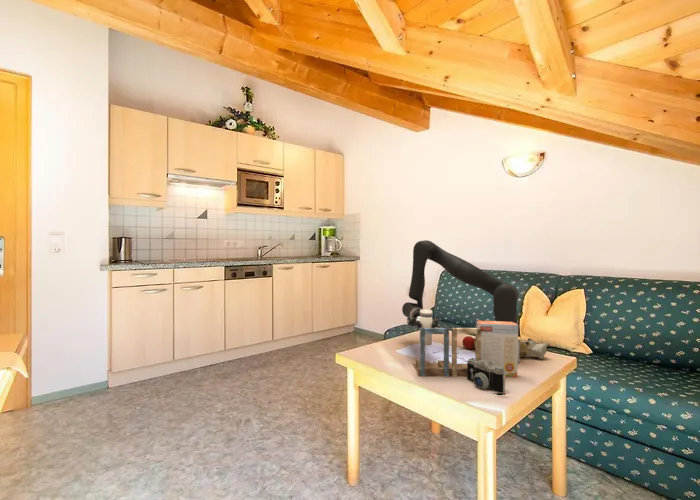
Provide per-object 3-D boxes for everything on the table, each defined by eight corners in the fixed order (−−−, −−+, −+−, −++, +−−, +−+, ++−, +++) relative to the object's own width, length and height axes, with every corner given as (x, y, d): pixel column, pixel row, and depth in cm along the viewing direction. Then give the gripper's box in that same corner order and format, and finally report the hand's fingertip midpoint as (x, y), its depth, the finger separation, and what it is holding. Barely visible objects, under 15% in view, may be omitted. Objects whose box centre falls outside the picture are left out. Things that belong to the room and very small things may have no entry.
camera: (459, 383, 125) (459, 355, 125) (471, 379, 128) (472, 352, 128) (494, 398, 112) (495, 368, 112) (507, 394, 116) (507, 364, 115)
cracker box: (511, 374, 133) (513, 321, 133) (517, 380, 127) (519, 324, 127) (474, 372, 135) (476, 319, 134) (479, 378, 129) (480, 323, 128)
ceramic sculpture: (547, 342, 146) (509, 340, 153) (548, 363, 146) (510, 359, 153) (546, 336, 155) (510, 334, 162) (547, 356, 155) (511, 353, 162)
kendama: (498, 350, 168) (460, 343, 171) (501, 338, 166) (463, 331, 170) (502, 358, 160) (462, 350, 164) (504, 346, 159) (464, 338, 162)
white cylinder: (430, 341, 146) (430, 309, 145) (433, 345, 141) (433, 312, 140) (418, 341, 146) (418, 309, 145) (420, 345, 141) (421, 311, 140)
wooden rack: (469, 366, 142) (470, 320, 142) (482, 379, 128) (483, 329, 128) (412, 365, 142) (412, 320, 142) (418, 379, 128) (419, 328, 128)
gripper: (403, 308, 157) (410, 317, 140) (434, 309, 157) (444, 317, 140) (403, 325, 157) (409, 335, 140) (434, 325, 157) (444, 335, 140)
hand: (427, 326), depth 140 cm, fingers closed on white cylinder, 5 cm apart
